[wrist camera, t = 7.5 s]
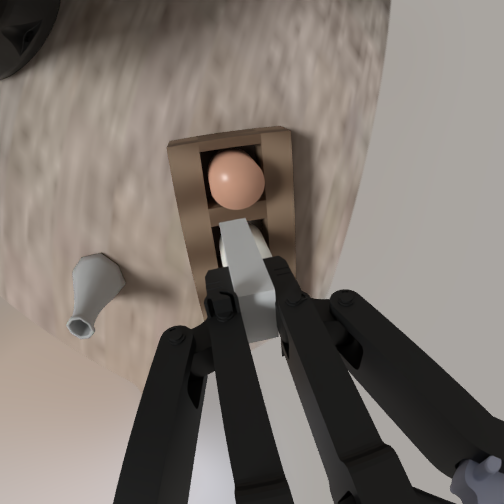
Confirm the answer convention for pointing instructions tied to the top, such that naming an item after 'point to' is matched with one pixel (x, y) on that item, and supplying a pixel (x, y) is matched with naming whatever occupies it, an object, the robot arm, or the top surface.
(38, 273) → the top surface
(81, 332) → the flask
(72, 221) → the top surface
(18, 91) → the top surface
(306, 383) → the robot arm
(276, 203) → the wooden egg tray
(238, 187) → the peach orange ball
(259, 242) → the off-white round ball
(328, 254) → the top surface
